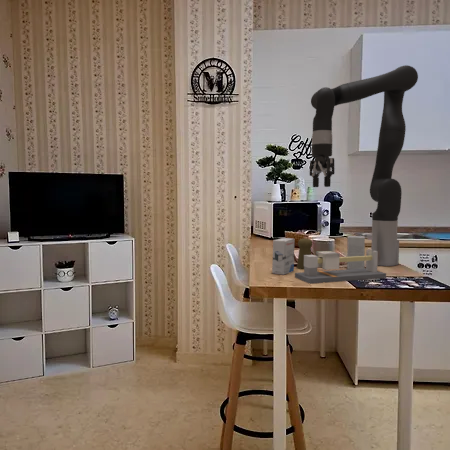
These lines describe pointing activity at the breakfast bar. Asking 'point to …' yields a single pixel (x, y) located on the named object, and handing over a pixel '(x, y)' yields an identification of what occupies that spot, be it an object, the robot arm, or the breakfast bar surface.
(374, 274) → the cable board
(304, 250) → the olive pawn shape
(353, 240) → the skincare box
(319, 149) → the robot arm
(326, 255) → the sleeve
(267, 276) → the breakfast bar surface
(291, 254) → the ink box
